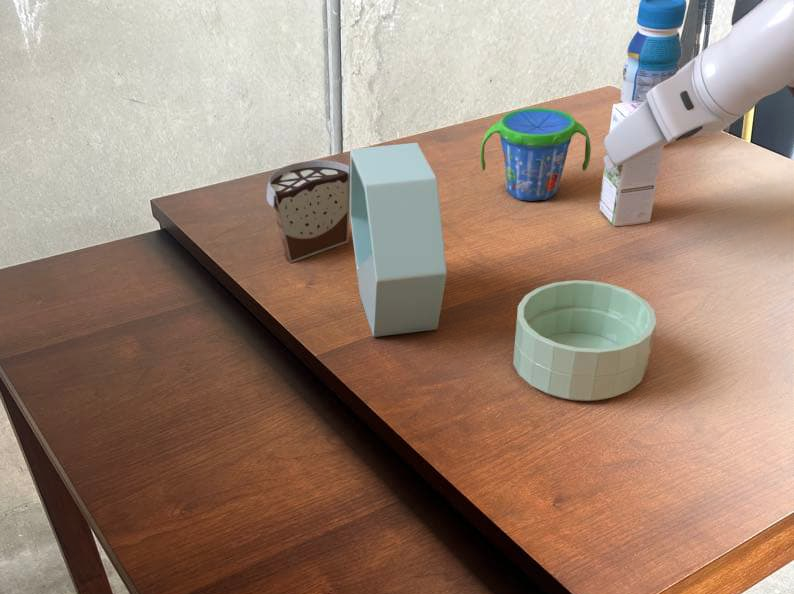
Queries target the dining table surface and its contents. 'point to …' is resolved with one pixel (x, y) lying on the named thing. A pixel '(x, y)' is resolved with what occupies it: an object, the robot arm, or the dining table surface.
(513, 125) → the snack cup
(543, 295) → the bowl
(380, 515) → the dining table surface
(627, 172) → the syrup box
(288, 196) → the food container
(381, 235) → the planter
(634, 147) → the robot arm
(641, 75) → the beverage bottle
